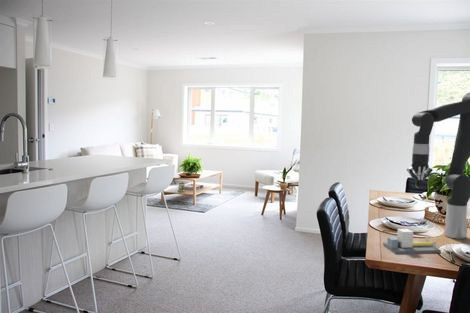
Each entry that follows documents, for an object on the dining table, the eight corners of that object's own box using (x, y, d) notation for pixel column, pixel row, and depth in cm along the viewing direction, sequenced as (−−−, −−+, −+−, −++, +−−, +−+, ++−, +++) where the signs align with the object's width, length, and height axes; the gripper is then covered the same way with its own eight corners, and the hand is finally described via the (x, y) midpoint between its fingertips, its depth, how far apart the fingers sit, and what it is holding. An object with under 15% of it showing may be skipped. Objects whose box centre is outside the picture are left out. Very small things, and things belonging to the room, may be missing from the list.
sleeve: (406, 243, 196) (407, 228, 195) (412, 247, 190) (413, 231, 190) (396, 244, 195) (397, 228, 194) (402, 247, 190) (403, 232, 189)
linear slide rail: (426, 244, 200) (426, 233, 200) (440, 252, 188) (441, 241, 188) (383, 245, 198) (383, 234, 198) (395, 253, 186) (395, 242, 186)
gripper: (429, 152, 208) (426, 185, 210) (404, 152, 206) (402, 185, 208) (437, 153, 200) (435, 188, 202) (412, 153, 199) (410, 188, 201)
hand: (418, 187), depth 205 cm, fingers closed
